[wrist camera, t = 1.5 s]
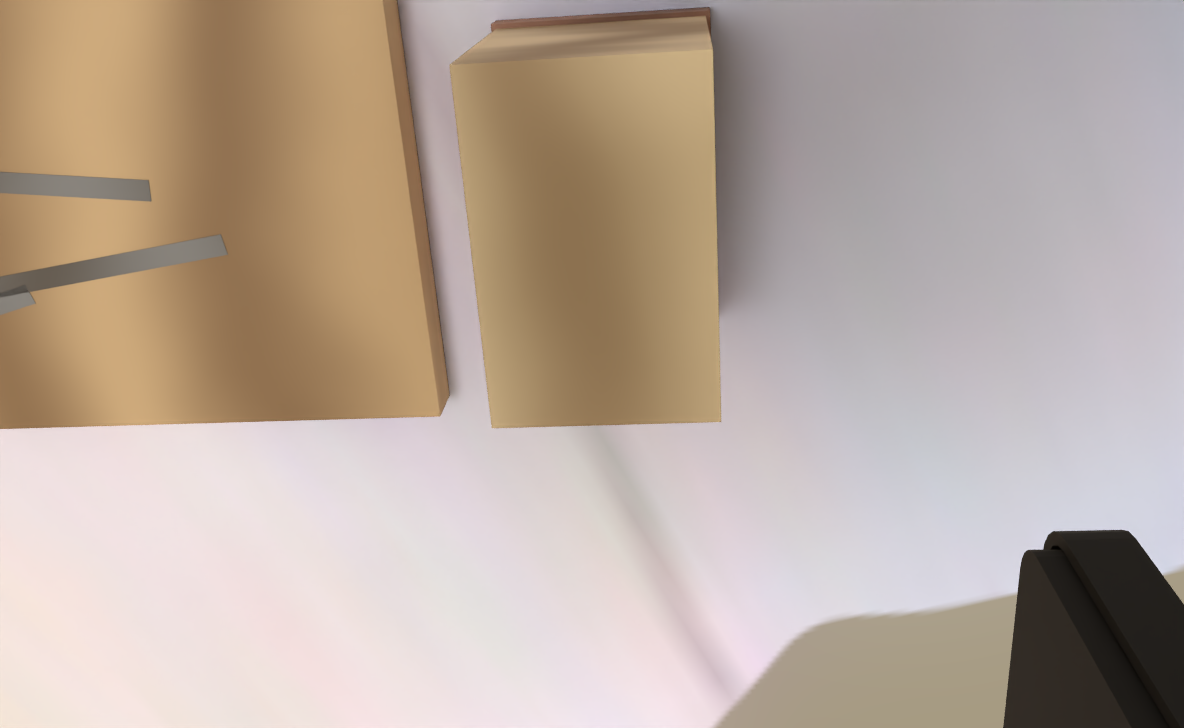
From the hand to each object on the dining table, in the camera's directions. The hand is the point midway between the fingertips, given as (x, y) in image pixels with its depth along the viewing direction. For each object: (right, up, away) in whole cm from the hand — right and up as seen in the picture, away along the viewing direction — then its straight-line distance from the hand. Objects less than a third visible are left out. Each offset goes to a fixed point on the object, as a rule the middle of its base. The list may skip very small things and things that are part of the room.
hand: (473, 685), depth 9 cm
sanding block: (+1, +7, +16) cm, 18 cm away
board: (-13, +7, +17) cm, 22 cm away
